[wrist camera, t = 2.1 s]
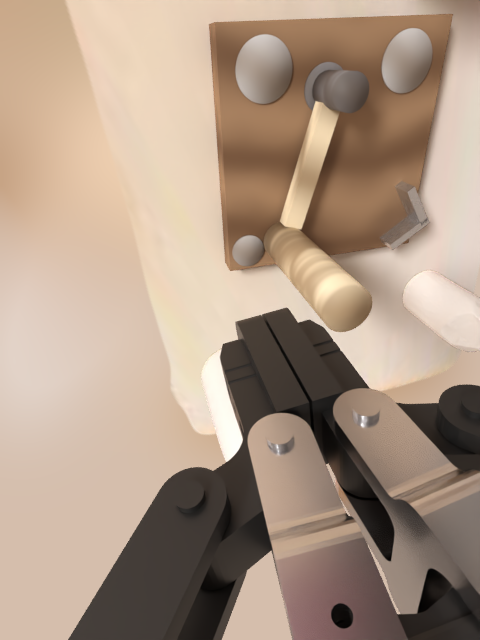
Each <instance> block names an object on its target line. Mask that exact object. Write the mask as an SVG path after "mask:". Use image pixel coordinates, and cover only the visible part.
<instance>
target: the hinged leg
mask: <svg viewBox="0 0 480 640" xmlns="http://www.w3.org/2000/svg"><path fill="white" fill-rule="evenodd" d="M312 95H313V99H314V101H315V105H314V108H313V111H312V115H311V118H310V122H309V125H308V128H307V132H306V135H305V138H304V142H303V145H302V148H301V152H300V155H299V158H298V162H297V165H296V169H295V172H294V175H293V179H292V182H291V185H290V189H289V192H288V195H287V199H286V202H285V205H284V209H283V212H282V216H281V219H280V222H278V223H276V224H274V225H272V226H271V227H270V228H269V229H268V230H267V232H266V234H265V236H264V248H265V250H266V252H267V253H268V254H269V255H270V257H271V258H272V259H273V260H274V261H275V263H276V264H277V265H278V266H279V268H280V269H281V270H282V271H283V273H284V274H285V275H286V276H287V277H288V279H289V280H290V281H291V282H292V284H293V285H294V286H295V287H296V289H297V290H298V291H299V292H300V293H301V295H302V296H303V297H304V298H305V300H306V301H307V302H308V303H309V304H310V306H311V307H312V308H313V309H314V311H315V312H316V313H317V314H318V316H319V317H320V318H321V319H322V320H323V322H324V323H325V324H326V325H327V327H328V328H330V329H331V330H333V331H336V332H346V331H349V330H352V329H354V328H356V327H357V326H359V325H360V324H361V323H362V322H363V321H364V320H365V319H366V318H367V316H368V315H369V313H370V311H371V308H372V297H371V295H370V293H369V292H368V291H367V290H366V289H365V288H364V287H363V286H362V285H361V284H359V283H358V282H357V281H356V280H355V279H354V278H353V277H352V276H351V275H349V274H348V273H347V272H346V271H345V270H344V269H343V268H342V267H340V266H339V265H338V264H337V263H336V262H335V261H334V260H333V259H332V258H330V257H329V256H328V255H327V254H326V253H325V252H324V251H323V250H322V249H320V248H319V247H318V246H317V245H316V244H315V243H314V242H313V241H312V240H310V239H309V238H308V237H307V236H306V235H305V234H304V233H303V232H302V231H300V230H299V229H302V226H303V223H304V220H305V217H306V214H307V211H308V208H309V205H310V202H311V199H312V196H313V193H314V190H315V187H316V184H317V180H318V177H319V174H320V171H321V168H322V165H323V162H324V159H325V156H326V153H327V150H328V147H329V144H330V141H331V138H332V135H333V131H334V128H335V125H336V122H337V119H338V116H339V113H340V112H345V113H354V112H356V111H358V110H359V109H360V108H361V107H362V106H363V105H364V104H365V102H366V100H367V98H368V95H369V82H368V79H367V78H366V76H365V75H364V74H363V73H361V72H359V71H347V70H325V71H323V72H322V73H320V74H319V75H318V76H317V78H316V79H315V81H314V84H313V88H312Z"/></svg>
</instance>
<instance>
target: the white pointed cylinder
mask: <svg viewBox="0 0 480 640" xmlns="http://www.w3.org/2000/svg"><path fill="white" fill-rule="evenodd" d="M403 304H404V306H405V308H406V309H407V310H408V311H409V312H411V313H412V314H413V315H414V316H415V317H417V318H418V319H419V320H420V321H421V322H423V323H424V324H425V325H427V326H428V327H429V328H430V329H431V330H432V331H434V332H435V333H436V334H437V335H439V336H440V337H441V338H442V339H444V340H445V341H446V342H448V343H449V344H450V345H452V346H453V347H455V348H458V349H461V350H463V351H467V352H476V351H480V298H479V297H478V296H476V295H475V294H473V293H471V292H470V291H468V290H466V289H464V288H462V287H461V286H459V285H457V284H456V283H454V282H452V281H451V280H449V279H447V278H446V277H444V276H442V275H441V274H439V273H438V272H436V271H432V270H428V271H423V272H420V273H419V274H417V275H415V276H414V277H413V278H412V279H411V280H410V281H409V282H408V283H407V285H406V287H405V290H404V293H403Z"/></svg>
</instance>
